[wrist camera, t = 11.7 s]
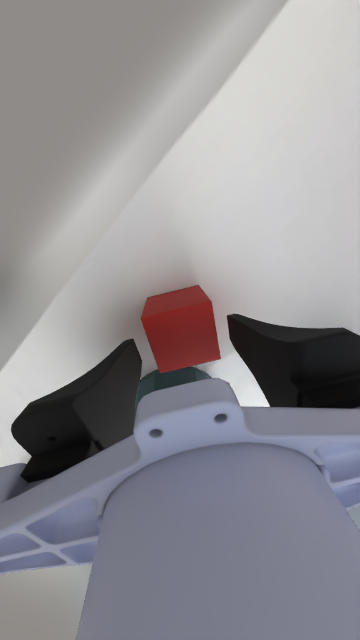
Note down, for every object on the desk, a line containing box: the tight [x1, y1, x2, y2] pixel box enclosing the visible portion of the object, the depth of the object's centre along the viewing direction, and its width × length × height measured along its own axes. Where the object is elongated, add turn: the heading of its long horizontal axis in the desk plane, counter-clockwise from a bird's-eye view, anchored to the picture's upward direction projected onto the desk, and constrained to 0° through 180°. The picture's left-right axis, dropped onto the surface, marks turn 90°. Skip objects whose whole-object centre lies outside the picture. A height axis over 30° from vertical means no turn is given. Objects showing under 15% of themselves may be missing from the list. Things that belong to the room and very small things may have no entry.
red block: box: [141, 285, 221, 373], centre depth 15 cm, size 5×5×5 cm
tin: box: [133, 367, 212, 434], centre depth 20 cm, size 11×11×6 cm
